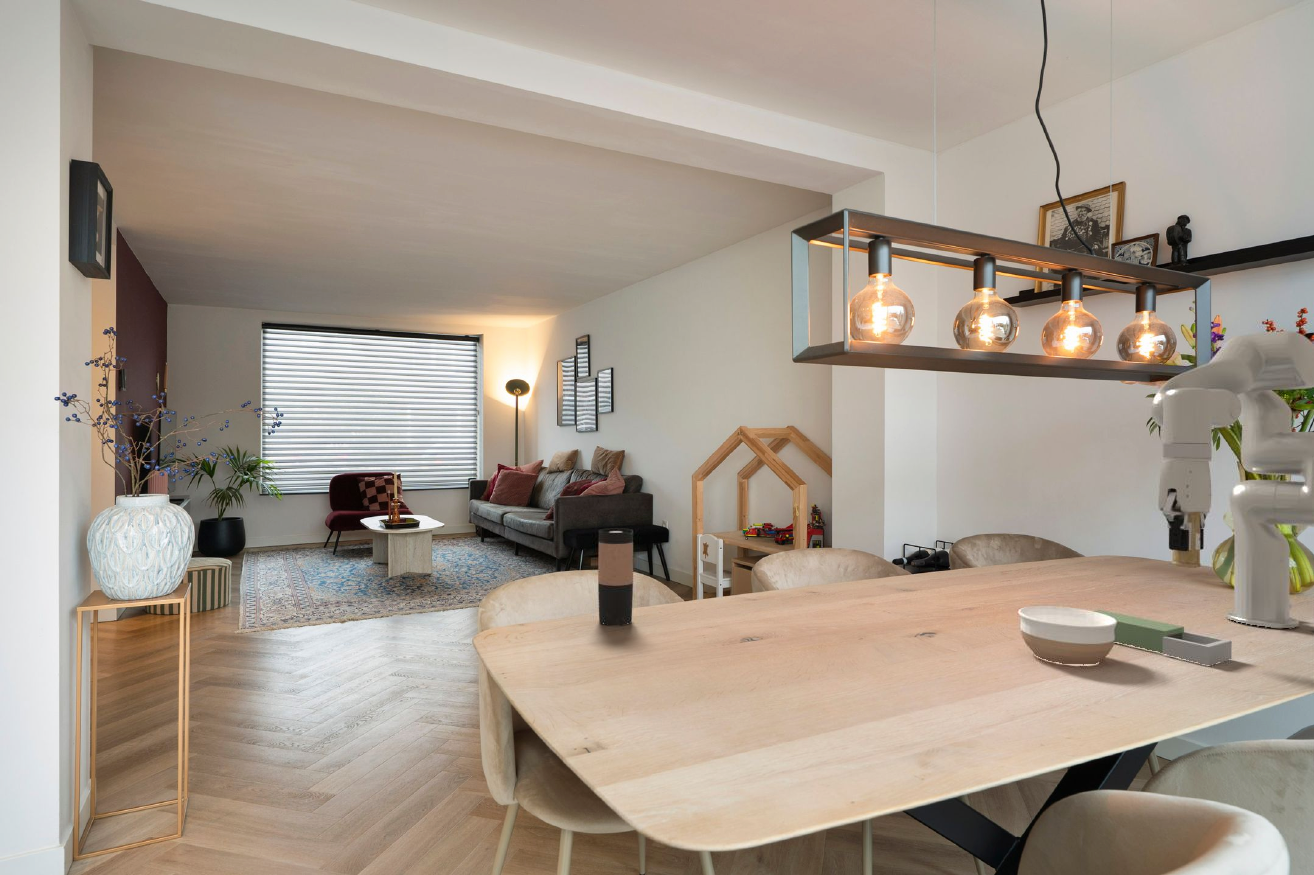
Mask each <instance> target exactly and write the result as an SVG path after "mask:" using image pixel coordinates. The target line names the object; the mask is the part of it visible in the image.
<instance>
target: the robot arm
mask: <svg viewBox="0 0 1314 875" xmlns="http://www.w3.org/2000/svg"><path fill="white" fill-rule="evenodd" d="M1312 388H1314V344H1313V342H1312V341H1311V340H1310V339H1309V338H1308V337H1306V336H1305V335H1303V334H1301V333H1299V332H1297V331H1293V330H1281V331H1273V332H1272V331H1271V332H1259V333H1248V334H1241V335H1237V336H1234V337H1232V338H1230V339H1228V340H1227V341H1226V342H1224V344H1223V345H1222V346H1221V348H1219V350H1218V351H1216V354H1215V355H1214V356H1213V357H1212V358H1211V359H1210V361H1208V363H1205V364H1203V365H1200V366H1197V367H1194V368H1193V369H1190V370H1187V371H1185V372H1182V373H1179V374H1178V375H1176V376H1173V377H1172V378H1170V379H1168V380H1167V381H1165V383H1164V384H1163V385H1162V386H1161V387H1160V389H1158V391H1157V392H1156V393H1155V395H1154V397H1153V399H1152V401H1151V405H1150V415H1151V418H1152V420H1153V421H1154V423H1155V424H1156V425H1157V426H1159V427H1162V443H1163V444H1162V464H1161V468H1160V472H1159V473H1160V476H1159V481H1158V482H1159V483H1158V498H1157V502H1158V503H1157V507H1158V508H1157V509H1158V510H1159V511H1160V512H1162V515H1163V516H1164V517H1165V519H1166V521H1167V529H1168V549H1169V550H1172V551H1173V550H1178V551H1188V550H1189V530H1186V528H1187V521H1188V514H1189V513H1194V512H1199V513H1200V551H1202V550H1203V549H1204V543H1205V542H1204V541H1205V540H1204V539H1205V538H1204V537H1205V536H1204V535H1205V534H1204V532H1205V531H1204V529H1205V527H1206V522H1205V521H1206V518H1207V516H1208V514H1209V513H1210V509H1211V505H1212V480H1211V469H1210V462H1212V453H1213V452H1212V450H1213V448H1212V441H1213V440H1212V430H1213V428H1225V427H1229V426H1231V425H1233V424H1235V423H1236V422H1237V421H1238V420H1239V418H1240V416H1241V413H1242V428H1241V429H1242V430H1241V444H1240V461H1241V462H1240V463H1241V466H1242V467H1243V469H1244V470H1245V471H1247V472H1248V473H1252V474H1258V475H1259V474H1260V475H1270V476H1271V475H1273V476H1275V475H1276V476H1277V475H1278V476H1298V477H1299V476H1300V477H1303V478H1304V481H1297V480H1293V481H1292V480H1291V481H1290V480H1289V481H1288V480H1273V479H1272V480H1271V479H1249V480H1244V481H1243V480H1242V481H1240V482H1239V481H1238V482H1237V483H1235V484H1234V485H1233V486H1232V487H1231V488H1230V491H1229V495H1228V497H1229V500H1228V502H1229V506H1230V512H1231V517H1232V522H1233V532H1234V534H1233V536H1234V538H1233V539H1234V556H1233V557H1234V577H1233V578H1234V584H1233V585H1234V587H1233V588H1234V590H1233V592H1234V600H1233V601H1234V603H1233V604H1234V610H1230V611H1226V612H1225V618H1226V617H1227V618H1228V619H1227V618H1226V619H1227V620H1229V619H1230V620H1229V621H1231V620H1234V621H1236V622H1235V623H1238V622H1241V623H1240V624H1242V623H1246V624H1245V625H1247V624H1250V625H1249V626H1252V625H1257V626H1256V627H1259V626H1265V627H1264V628H1267V627H1271V628H1270V629H1282V628H1289V629H1296V628H1295V627H1297V626H1298V627H1300V626H1299V625H1300V621H1299V620H1298V619H1295V618H1293V617H1290V611H1291V610H1292V608H1293V605H1292V603H1290V552H1291V549H1290V548H1291V547H1290V544H1289V542H1288V539H1287V537H1285V535H1284V534H1283V533H1282V532H1281V530H1279V528H1278V527H1277V526H1276V525H1280V526H1281V525H1286V526H1295V527H1297V526H1298V527H1299V526H1300V527H1312V528H1314V431H1292V417H1293V416H1292V415H1293V413H1292V409H1291V407H1290V406H1289V404H1288V403H1287V402H1286V401H1285V400H1284V399H1283V398H1282V397H1281V396H1280V395H1278V393H1276V392H1275V390H1276V391H1280V390H1303V389H1305V390H1306V389H1312ZM1199 505H1200V506H1199ZM1175 509H1180V510H1181V511H1182V512H1175ZM1179 516H1182V517H1181V520H1180V518H1179ZM1234 621H1233V622H1234ZM1298 627H1297V628H1298Z"/></svg>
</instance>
